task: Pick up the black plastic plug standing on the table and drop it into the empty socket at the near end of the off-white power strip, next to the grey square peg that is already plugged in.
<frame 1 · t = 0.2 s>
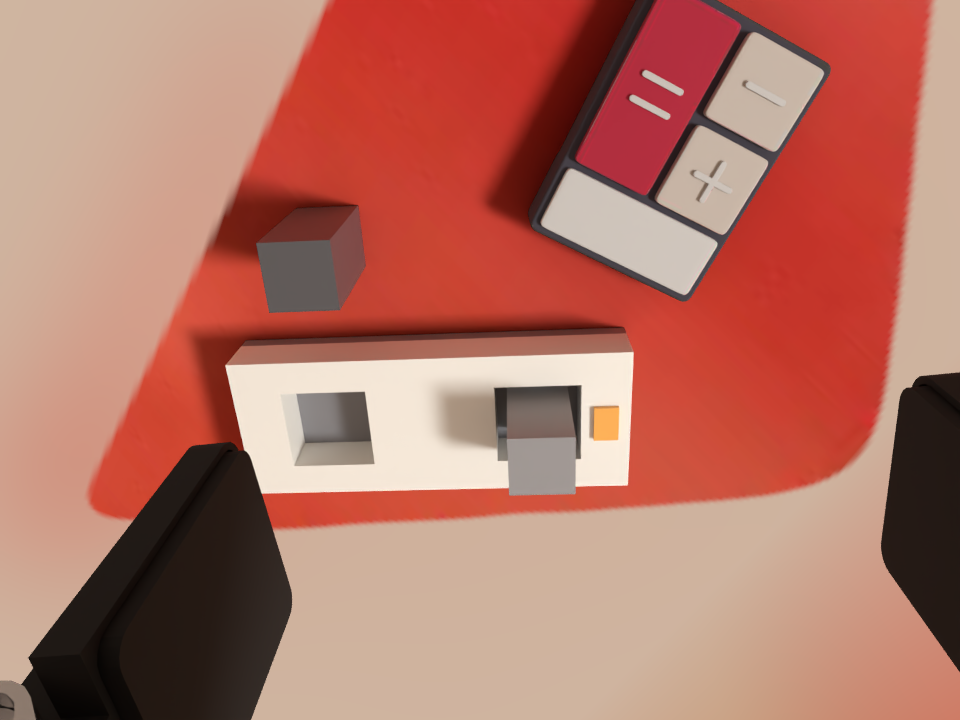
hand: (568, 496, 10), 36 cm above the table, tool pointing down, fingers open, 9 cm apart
calculator: (661, 142, 43), on the table
plug: (331, 237, 46), on the table
power strip: (437, 398, 51), on the table
grey square peg: (536, 402, 50), point 1 cm above the table, touching power strip
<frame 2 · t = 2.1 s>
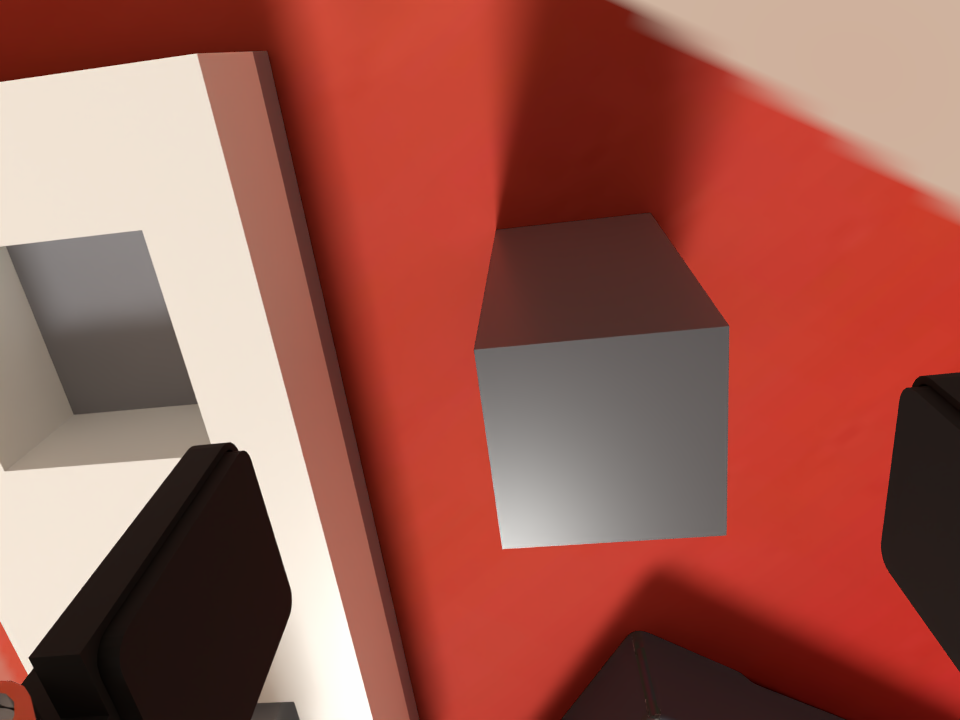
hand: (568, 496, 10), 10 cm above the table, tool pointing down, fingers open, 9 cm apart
plug: (577, 293, 19), on the table
power strip: (218, 507, 23), on the table
grey square peg: (261, 689, 25), point 1 cm above the table, touching power strip
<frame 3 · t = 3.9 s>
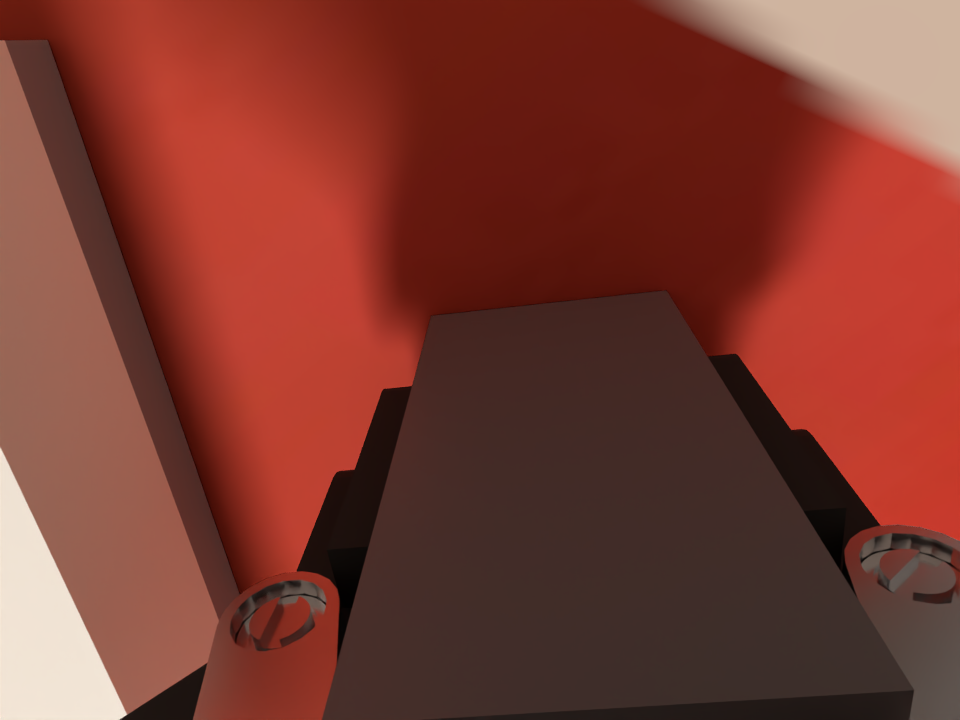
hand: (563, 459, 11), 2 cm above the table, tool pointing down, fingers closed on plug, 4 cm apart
plug: (556, 406, 13), on the table, touching gripper
power strip: (56, 684, 16), on the table
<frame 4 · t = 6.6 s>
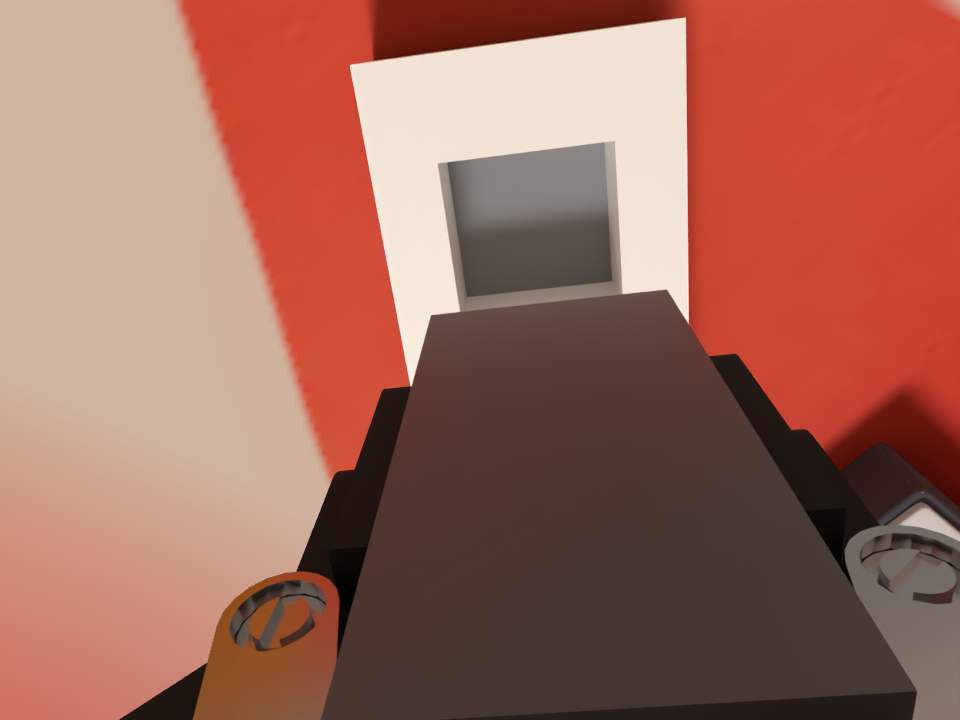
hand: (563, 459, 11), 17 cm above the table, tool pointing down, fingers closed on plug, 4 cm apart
calculator: (883, 592, 35), on the table
plug: (557, 405, 13), point 16 cm above the table, touching gripper
power strip: (547, 375, 30), on the table
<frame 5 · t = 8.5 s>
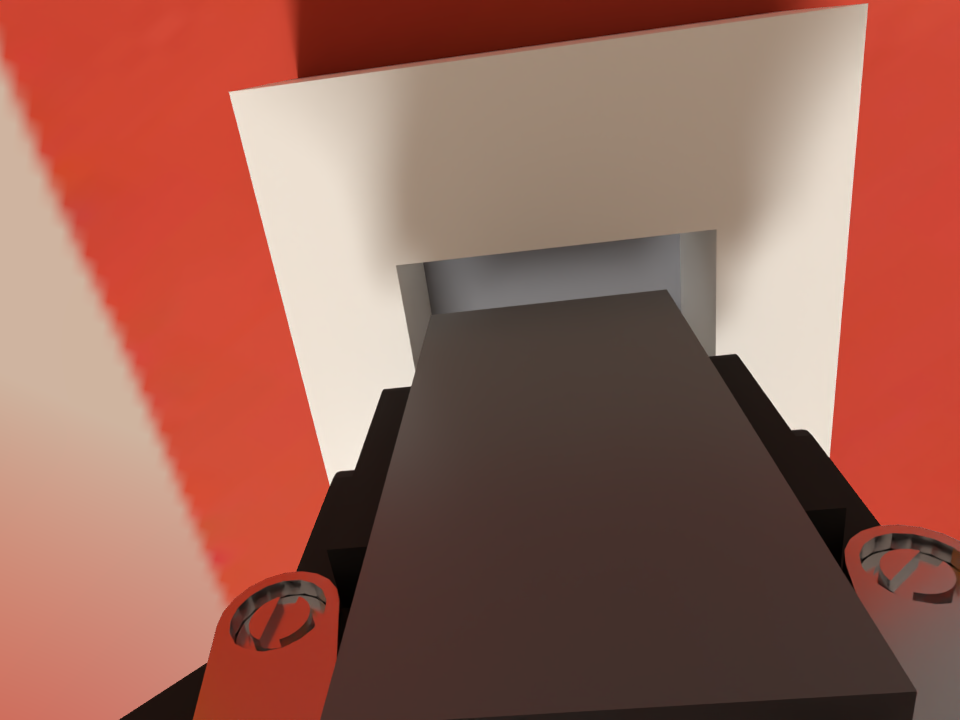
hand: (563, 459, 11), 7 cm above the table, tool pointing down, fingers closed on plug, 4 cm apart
plug: (556, 405, 13), point 5 cm above the table, touching gripper
power strip: (575, 545, 20), on the table
when the fingers open (4 cm above the table, at t = 9.7 s): plug drops 1 cm, resting on power strip.
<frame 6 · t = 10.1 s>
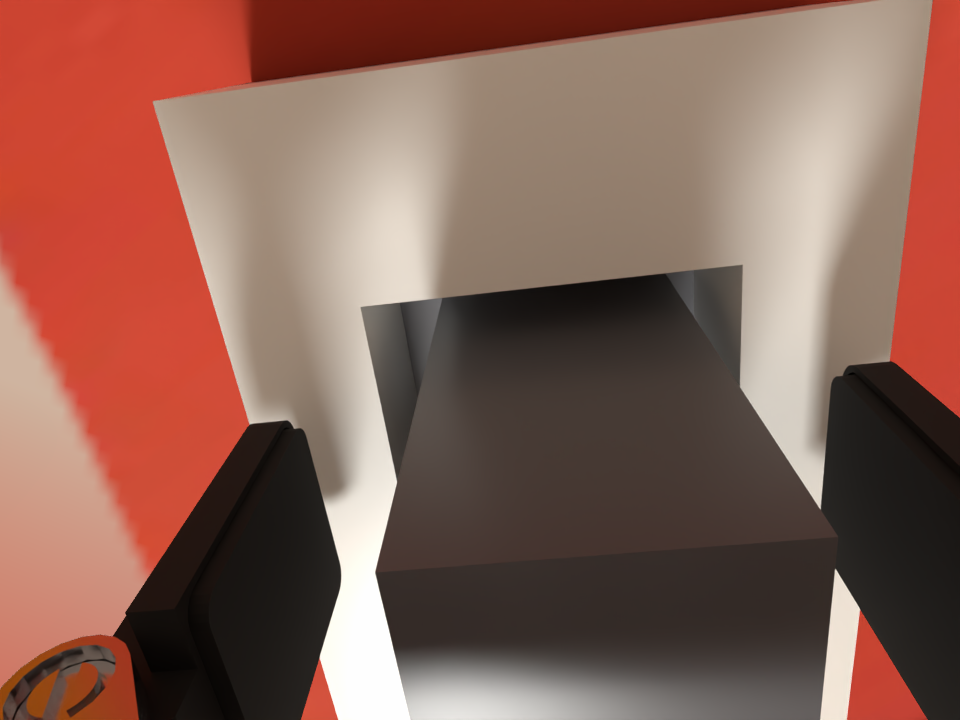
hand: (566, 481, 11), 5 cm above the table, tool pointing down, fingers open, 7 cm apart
plug: (558, 368, 14), point 1 cm above the table, touching power strip
power strip: (573, 600, 18), on the table
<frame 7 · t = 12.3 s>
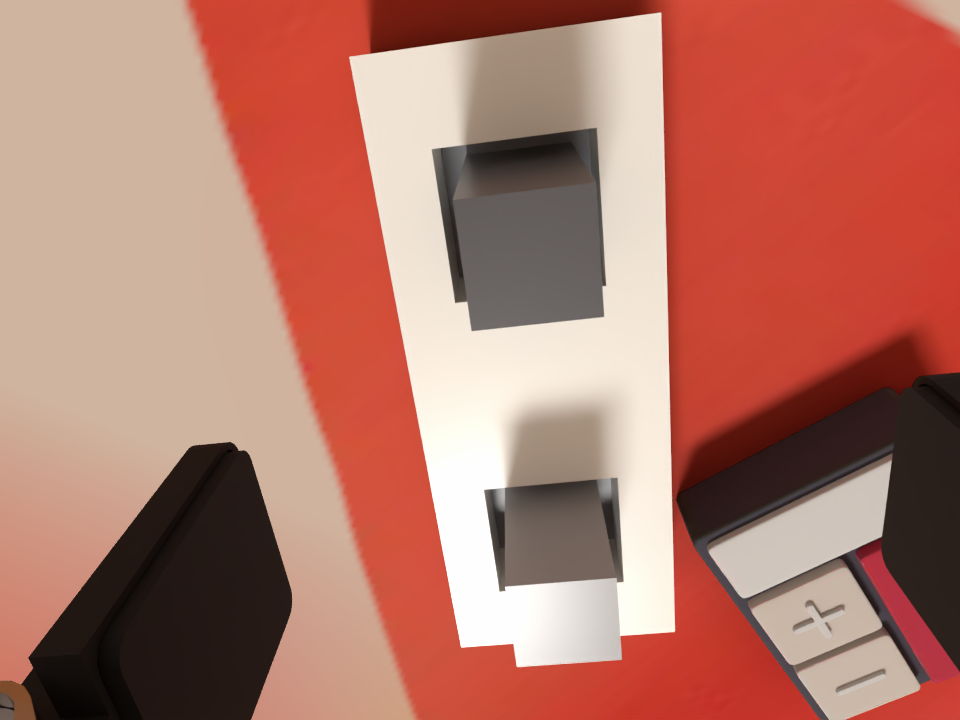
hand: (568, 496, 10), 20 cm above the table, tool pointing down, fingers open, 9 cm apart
calculator: (837, 542, 36), on the table
plug: (523, 200, 28), point 1 cm above the table, touching power strip
power strip: (536, 353, 32), on the table
grey square peg: (551, 496, 34), point 1 cm above the table, touching power strip
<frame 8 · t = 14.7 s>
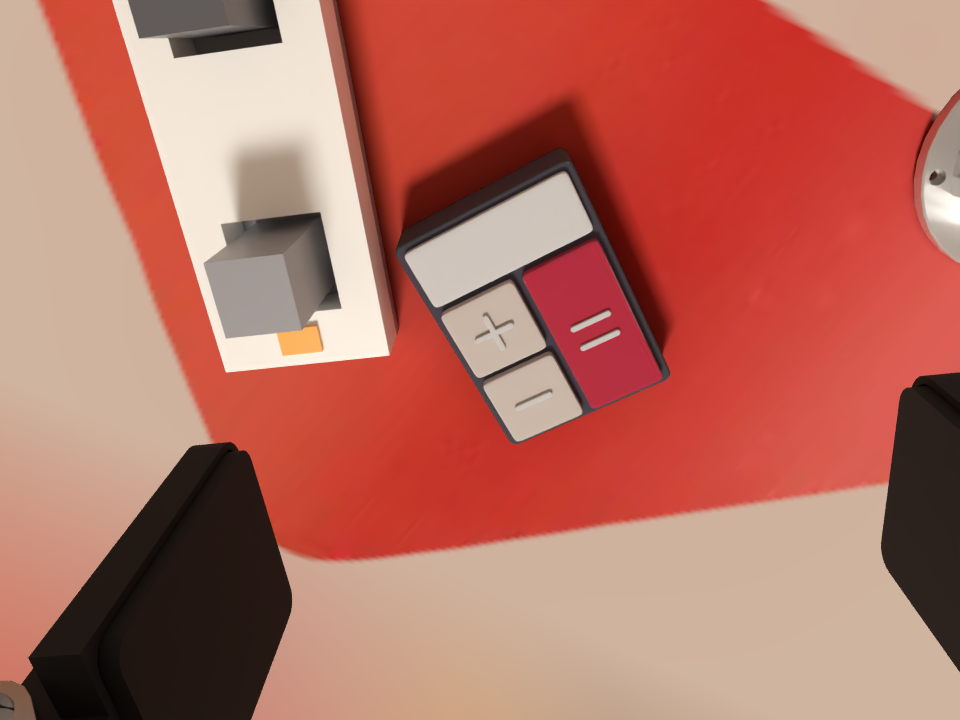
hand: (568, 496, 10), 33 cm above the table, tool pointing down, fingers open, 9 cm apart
calculator: (535, 295, 45), on the table
power strip: (273, 128, 41), on the table
grey square peg: (296, 252, 43), point 1 cm above the table, touching power strip
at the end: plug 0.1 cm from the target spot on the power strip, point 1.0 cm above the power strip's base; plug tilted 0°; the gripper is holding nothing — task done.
